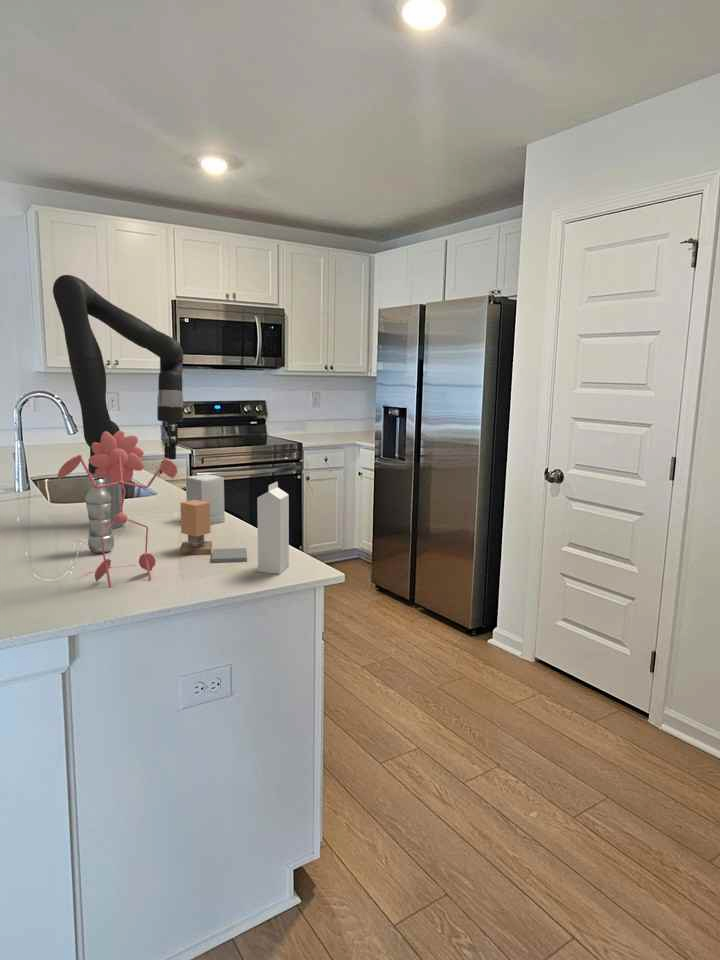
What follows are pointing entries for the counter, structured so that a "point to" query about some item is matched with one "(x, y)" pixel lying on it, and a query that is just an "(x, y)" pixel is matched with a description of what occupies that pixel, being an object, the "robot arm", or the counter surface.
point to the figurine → (118, 481)
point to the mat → (229, 555)
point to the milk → (273, 530)
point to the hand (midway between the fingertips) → (170, 458)
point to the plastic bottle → (99, 517)
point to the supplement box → (208, 494)
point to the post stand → (196, 546)
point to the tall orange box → (195, 518)
